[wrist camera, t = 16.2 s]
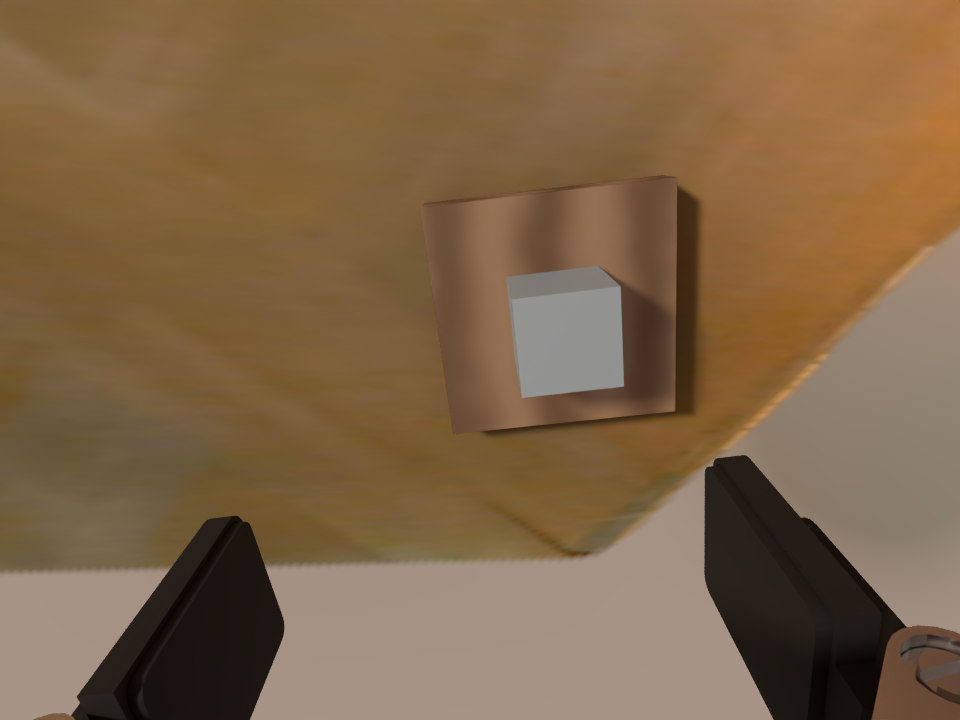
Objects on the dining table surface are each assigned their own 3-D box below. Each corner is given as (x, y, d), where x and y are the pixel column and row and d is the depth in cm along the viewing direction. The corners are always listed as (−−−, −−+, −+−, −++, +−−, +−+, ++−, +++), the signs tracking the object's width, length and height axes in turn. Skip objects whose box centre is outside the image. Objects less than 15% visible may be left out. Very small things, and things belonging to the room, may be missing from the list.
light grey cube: (598, 265, 36) (620, 286, 31) (602, 352, 38) (624, 386, 33) (506, 276, 36) (511, 299, 31) (515, 362, 38) (522, 397, 33)
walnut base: (662, 175, 37) (677, 177, 34) (662, 394, 43) (675, 411, 40) (424, 203, 38) (420, 207, 35) (454, 415, 43) (453, 433, 40)
